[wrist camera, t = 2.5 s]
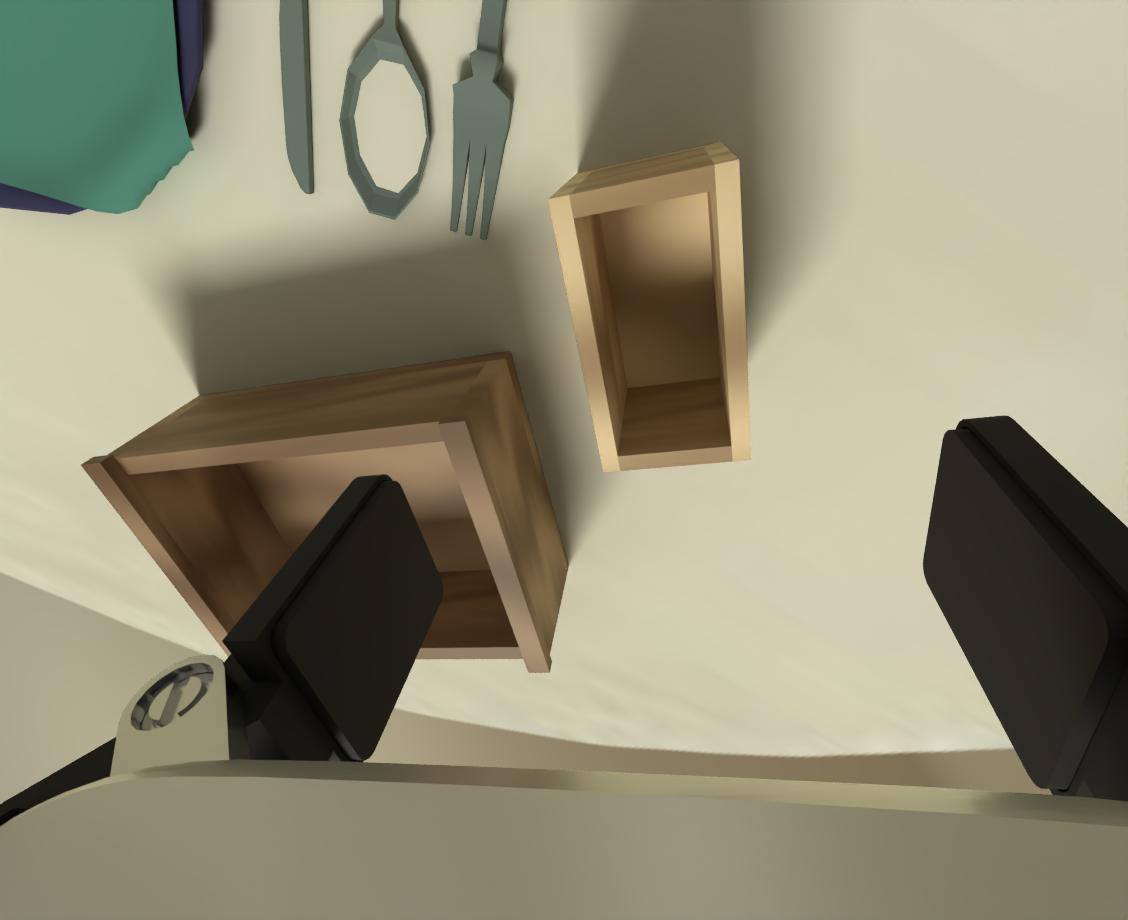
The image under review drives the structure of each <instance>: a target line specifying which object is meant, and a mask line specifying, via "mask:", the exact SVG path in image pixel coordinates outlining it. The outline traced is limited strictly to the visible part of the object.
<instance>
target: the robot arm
mask: <svg viewBox="0 0 1128 920" xmlns="http://www.w3.org/2000/svg"><path fill="white" fill-rule="evenodd" d="M923 570H924V575H925V579H926V581H927V584H928V586H929V588H930V590H931V592H932V593H933V595H934V597H935V599H936V601H937V603H938V605H939V607H940V609H941V610H942V612H943V614H944V616H945V618H946V620H947V622H948V624H949V626H950V628H951V629H952V631H953V633H954V635H955V637H956V639H957V641H958V643H959V645H960V646H961V648H962V650H963V652H964V654H965V656H966V658H967V660H968V662H969V664H970V665H971V667H972V669H973V671H974V673H975V675H976V677H977V679H978V681H979V682H980V684H981V686H982V688H983V690H984V692H985V694H986V696H987V698H988V700H989V701H990V703H991V705H992V707H993V709H994V711H995V713H996V715H997V717H998V718H999V720H1000V722H1001V724H1002V726H1003V728H1004V730H1005V732H1006V734H1007V736H1008V737H1009V739H1010V741H1011V743H1012V745H1013V747H1014V749H1015V751H1016V752H1017V754H1018V756H1019V758H1020V760H1021V762H1022V764H1023V766H1024V768H1025V769H1026V772H1027V773H1028V775H1029V776H1030V778H1031V780H1032V781H1033V782H1034V783H1035V784H1036V786H1038V787H1040V788H1042V789H1050V791H1051V793H1052V794H1053V795H1042V794H1027V793H1011V792H995V791H979V790H964V789H948V788H932V787H915V786H894V785H893V786H892V785H874V784H853V783H832V782H811V781H810V782H809V781H790V780H770V779H769V780H768V779H749V778H727V777H707V776H685V775H661V774H639V773H616V772H592V771H569V770H568V771H567V770H546V769H522V768H521V769H520V768H497V767H471V766H446V765H417V764H390V763H365V762H363V761H364V760H366V759H368V758H370V756H371V755H372V754H373V752H374V750H375V749H376V746H377V744H378V742H379V740H380V737H381V735H382V733H383V731H384V729H385V726H386V724H387V722H388V719H389V717H390V715H391V713H392V711H393V708H394V706H395V704H396V702H397V699H398V697H399V695H400V693H401V690H402V688H403V686H404V684H405V682H406V679H407V677H408V675H409V673H410V670H411V668H412V666H413V664H414V661H415V659H416V657H417V655H418V652H419V650H420V648H421V646H422V643H423V641H424V639H425V637H426V635H427V632H428V630H429V628H430V626H431V623H432V621H433V619H434V617H435V614H436V612H437V610H438V608H439V605H440V603H441V601H442V598H443V582H442V579H441V577H440V575H439V572H438V570H437V568H436V565H435V563H434V561H433V558H432V556H431V554H430V551H429V549H428V547H427V544H426V542H425V540H424V538H423V535H422V533H421V531H420V528H419V526H418V524H417V521H416V519H415V517H414V514H413V512H412V510H411V507H410V505H409V503H408V500H407V498H406V496H405V493H404V491H403V489H402V487H401V485H400V484H399V483H398V482H397V481H393V480H392V478H391V477H389V476H388V475H386V474H381V475H370V476H360V477H356V478H355V479H354V480H353V481H352V482H351V483H350V485H349V486H348V487H347V488H346V489H345V491H344V492H343V493H342V494H341V496H340V497H339V498H338V499H337V500H336V502H335V503H334V504H333V505H332V507H331V508H330V509H329V510H328V512H327V513H326V514H325V515H324V516H323V518H322V519H321V520H320V521H319V523H318V524H317V525H316V526H315V527H314V529H313V530H312V531H311V532H310V534H309V535H308V536H307V537H306V539H305V540H304V541H303V542H302V543H301V545H300V546H299V547H298V548H297V550H296V551H295V552H294V553H293V554H292V556H291V557H290V558H289V559H288V561H287V562H286V563H285V564H284V566H283V567H282V568H281V569H280V570H279V572H278V573H277V574H276V575H275V577H274V578H273V579H272V580H271V581H270V583H269V584H268V585H267V586H266V588H265V589H264V590H263V591H262V593H261V594H260V595H259V596H258V597H257V599H256V600H255V601H254V602H253V604H252V605H251V606H250V607H249V608H248V610H247V611H246V612H245V613H244V615H243V616H242V617H241V618H240V620H239V621H238V622H237V623H236V624H235V626H234V627H233V628H232V629H231V631H230V632H229V633H228V634H227V635H226V637H225V638H224V639H223V640H222V642H223V643H224V645H225V646H226V647H227V649H228V650H229V651H230V653H231V654H230V656H229V657H228V658H227V660H226V661H225V662H223V661H222V660H221V659H219V658H218V657H216V656H215V655H199V656H195V657H190V658H187V659H185V660H183V661H180V662H178V663H175V664H174V665H172V666H170V667H169V668H167V669H165V670H163V671H162V672H160V673H159V674H157V675H156V676H155V677H154V678H152V679H151V680H150V681H149V682H147V683H146V684H145V685H144V686H143V687H142V688H141V689H140V690H139V691H138V692H137V693H136V694H135V695H134V696H133V697H132V699H131V700H130V701H129V703H128V704H127V706H126V707H125V709H124V711H123V713H122V715H121V718H120V721H119V725H118V730H117V736H116V737H115V738H114V739H112V740H110V741H108V742H107V743H105V744H103V745H101V746H100V747H98V748H96V749H95V750H93V751H91V752H90V753H88V754H86V755H84V756H82V757H81V758H79V759H77V760H76V761H74V762H72V763H70V764H69V765H67V766H65V767H64V768H62V769H60V770H58V771H57V772H55V773H53V774H51V775H50V776H48V777H46V778H45V779H43V780H41V781H39V782H38V783H36V784H34V785H33V786H31V787H29V788H27V789H25V790H24V791H22V792H20V793H19V794H17V795H15V796H14V797H12V798H10V799H8V800H6V801H5V802H3V803H2V804H0V920H1128V527H1127V526H1126V525H1124V524H1123V523H1122V522H1121V521H1120V520H1119V519H1118V518H1117V517H1116V516H1115V515H1114V514H1113V513H1112V512H1111V511H1110V510H1109V509H1108V508H1106V507H1105V506H1104V505H1103V504H1102V503H1101V502H1100V501H1099V500H1098V499H1097V498H1096V497H1095V496H1094V495H1093V494H1092V493H1091V492H1090V491H1089V490H1087V489H1086V488H1085V487H1084V486H1083V485H1082V484H1081V483H1080V482H1079V481H1078V480H1077V479H1076V478H1075V477H1074V476H1073V475H1072V474H1071V473H1069V472H1068V471H1067V470H1066V469H1065V468H1064V467H1063V466H1062V465H1061V464H1060V463H1059V462H1058V461H1057V460H1056V459H1055V458H1054V457H1053V456H1052V455H1050V454H1049V453H1048V452H1047V451H1046V450H1045V449H1044V448H1043V447H1042V446H1041V445H1040V444H1039V443H1038V442H1037V441H1036V440H1035V439H1034V438H1032V437H1031V436H1030V435H1029V434H1028V433H1027V432H1026V431H1025V430H1024V429H1023V428H1022V427H1021V426H1020V425H1019V424H1018V423H1017V422H1016V421H1015V420H1013V419H1012V418H1011V417H1009V416H995V417H984V418H974V419H963V420H962V421H960V422H959V423H958V425H957V427H956V430H948V431H947V432H946V433H945V435H944V437H943V442H942V448H941V454H940V460H939V466H938V473H937V479H936V485H935V491H934V497H933V503H932V509H931V516H930V522H929V528H928V534H927V540H926V546H925V552H924V559H923Z"/></svg>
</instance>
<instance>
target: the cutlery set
mask: <svg viewBox="0 0 1128 920" xmlns="http://www.w3.org/2000/svg"><path fill="white" fill-rule="evenodd" d="M506 2H507V0H483V2H482V10H481V19H480V28H479V36H478V45H477V50H475V51H473V52H471V53H470V59H471V66H472V72H473V76H472V77H470V78H468V79H465V80H463V81H460V82H458V83H456V84H453V92H454V106H453V126H454V140H453V193H452V214H451V228H450V231H454V232H456V231H457V228H458V222H459V216H460V210H461V204H462V198H463V192H464V186H465V179H466V173H467V167H468V161H469V186H468V206H467V220H466V232H465V235H469V236H471V235H472V231H473V226H474V220H475V214H476V209H477V203H478V198H479V192H480V187H481V181H482V176H483V170H484V165H485V182H484V200H483V215H482V225H481V236H480V239H483V240H486V239H487V234H488V229H489V224H490V219H491V214H492V209H493V204H494V199H495V194H496V188H497V183H498V178H499V173H500V168H501V163H502V158H503V153H504V148H505V143H506V140H507V136H508V132H509V128H510V122H511V115H512V108H513V101H514V99H513V98H512V97H511V96H510V95H509V94H508V93H507V92H506V91H505V90H504V88H503V87H502V86H501V85H500V84H499V83H498V82H497V80H498V77H499V74H500V71H501V68H502V65H503V59H502V58H501V57H500V55H499V53H500V46H501V38H502V31H503V24H504V16H505V9H506ZM398 9H399V0H383V17H384V25H383V26H382V27H381V28H380V29H379V30H377V31H376V32H375V33H374V34H373V35H372V36H371V38H370V39H369V40H368V42H367V43H366V44H365V46H364V47H363V48H362V50H361V51H360V53H359V54H358V55H357V57H356V58H355V59H354V61H353V62H352V63H351V65H350V66H349V68H348V70H347V76H346V82H345V89H344V95H343V101H342V107H341V114H340V120H339V121H340V127H341V133H342V139H343V145H344V151H345V157H346V163H347V169H348V175H349V176H350V178H351V180H352V182H353V184H354V185H355V187H356V189H357V191H358V193H359V195H360V196H361V198H362V200H363V202H364V204H365V206H366V207H367V209H368V211H369V213H372V214H376V215H380V216H384V217H387V218H391V219H396V218H397V217H398V216H399V215H400V213H401V212H402V211H403V210H404V209H405V207H406V206H407V205H408V204H409V203H410V202H411V200H412V199H413V198H414V197H415V196H416V195H417V193H418V191H419V187H420V183H421V178H422V174H423V170H424V166H425V162H426V158H427V154H428V150H429V146H430V135H429V126H428V117H427V108H426V99H425V90H424V88H423V85H422V83H421V81H420V79H419V77H418V75H417V73H416V71H415V69H414V67H413V65H412V63H411V61H410V59H409V57H408V54H407V52H406V50H405V48H404V46H403V44H402V41H401V38H400V35H399V32H398ZM279 21H280V52H281V73H282V91H283V106H284V120H285V134H286V146H287V153H288V159H289V162H290V165H291V168H292V171H293V173H294V175H295V177H296V179H297V181H298V183H299V186H300V188H301V189H302V190H303V191H304V192H305V193H306V194H312V193H314V182H313V154H312V126H311V98H310V70H309V42H308V14H307V0H280V12H279ZM380 59H382V60H386V61H390V62H395V63H399V64H403V65H404V66H405V68H406V69H407V71H408V73H409V74H410V76H411V78H412V80H413V82H414V83H415V85H416V87H417V89H418V91H419V93H420V94H421V96H422V103H423V110H424V118H425V127H426V135H427V138H426V141H425V145H424V149H423V153H422V157H421V161H420V165H419V169H418V173H417V174H416V175H415V176H414V177H413V178H412V179H411V180H410V181H409V182H408V183H407V185H406V186H405V187H404V188H403V189H402V190H401V191H400V192H399V193H395V192H392V191H389V190H386V189H383V188H380V187H377V186H376V185H375V183H374V181H373V179H372V177H371V175H370V173H369V172H368V170H367V168H366V166H365V164H364V162H363V160H362V158H361V156H360V153H359V147H358V140H357V134H356V127H355V120H354V114H355V110H356V105H357V100H358V95H359V90H360V86H361V81H362V80H363V79H364V78H365V77H366V76H367V75H368V73H369V72H370V71H371V70H372V69H373V67H374V66H375V65H376V64H377V63H378V61H379V60H380ZM202 69H203V0H0V207H1V208H10V209H20V210H29V211H39V212H49V213H58V214H68V215H70V214H73V213H76V212H79V211H83V210H86V209H91V210H95V211H99V212H107V213H116V214H119V213H123V212H126V211H130V210H133V209H137V208H138V207H139V206H140V204H141V203H142V201H143V200H144V198H145V197H146V195H148V194H150V193H151V192H152V190H153V189H154V187H155V186H156V184H157V183H158V181H160V180H163V179H164V178H165V177H166V175H167V174H168V172H169V171H170V170H171V168H172V167H173V166H175V165H178V164H179V163H180V162H181V161H182V160H183V158H184V157H185V156H186V155H187V153H188V152H189V151H192V150H194V149H193V146H192V143H191V141H190V138H189V135H188V131H187V127H186V123H185V121H186V118H187V115H188V112H189V109H190V105H191V102H192V99H193V96H194V93H195V90H196V87H197V84H198V81H199V78H200V75H201V72H202ZM485 159H486V161H485Z"/></svg>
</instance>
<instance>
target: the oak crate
mask: <svg viewBox="0 0 1128 920" xmlns="http://www.w3.org/2000/svg"><path fill="white" fill-rule="evenodd" d="M548 203H549V208H550V213H551V218H552V223H553V228H554V233H555V238H556V243H557V247H558V252H559V257H560V262H561V267H562V272H563V277H564V282H565V287H566V292H567V297H568V301H569V306H570V311H571V316H572V321H573V326H574V331H575V336H576V341H577V346H578V350H579V355H580V360H581V365H582V370H583V375H584V380H585V385H586V390H587V395H588V400H589V404H590V409H591V414H592V419H593V424H594V429H595V434H596V439H597V444H598V449H599V454H600V458H601V463H602V468H603V472H613V471H624V470H636V469H648V468H660V467H672V466H684V465H695V464H707V463H719V462H731V461H743V460H751V440H750V415H749V390H748V365H747V341H746V316H745V291H744V266H743V242H742V217H741V192H740V167H739V159H738V158H737V157H736V156H735V155H734V154H733V153H732V152H731V151H730V150H729V149H728V148H727V147H726V146H725V145H724V144H723V143H722V142H719V143H714V144H710V145H705V146H700V147H696V148H691V149H687V150H682V151H677V152H673V153H668V154H664V155H659V156H654V157H650V158H645V159H641V160H636V161H631V162H627V163H622V164H618V165H613V166H609V167H604V168H599V169H595V170H590V171H586V172H581V173H577V174H576V175H575V176H574V177H573V178H571V179H570V180H569V181H568V182H567V183H566V184H565V185H564V186H562V187H561V188H560V189H559V190H558V191H557V192H556V193H554V194H553V195H552V196H551V197H550V198H549V199H548Z"/></svg>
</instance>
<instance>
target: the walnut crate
mask: <svg viewBox="0 0 1128 920" xmlns="http://www.w3.org/2000/svg"><path fill="white" fill-rule="evenodd" d="M81 466H82V467H83V468H84V470H85V471H86V472H87V474H88V475H89V476H90V478H91V479H92V480H93V481H94V483H95V484H96V485H97V487H98V488H99V489H100V491H101V492H102V493H103V494H104V496H105V497H106V498H107V500H108V501H109V502H110V503H111V505H112V506H113V507H114V509H115V510H116V511H117V513H118V514H119V515H120V516H121V518H122V519H123V520H124V522H125V523H126V524H127V526H128V527H129V528H130V529H131V531H132V532H133V533H134V535H135V536H136V537H137V538H138V540H139V541H140V542H141V544H142V545H143V546H144V548H145V549H146V550H147V551H148V553H149V554H150V555H151V557H152V558H153V559H154V561H155V562H156V563H157V564H158V566H159V567H160V568H161V570H162V571H163V572H164V574H165V575H166V576H167V577H168V579H169V580H170V581H171V583H172V584H173V585H174V586H175V588H176V589H177V590H178V592H179V593H180V594H181V596H182V597H183V598H184V599H185V601H186V602H187V603H188V605H189V606H190V607H191V609H192V610H193V611H194V612H195V614H196V615H197V616H198V618H199V619H200V620H201V622H202V623H203V624H204V625H205V627H206V628H207V629H208V631H209V632H210V633H211V634H212V636H213V637H214V638H215V640H216V641H217V642H218V644H219V645H220V646H221V647H222V649H223V650H224V651H225V653H226V654H227V655H228V657H229V656H230V654H231V653H230V651H229V650H228V649H227V647H226V646H225V645H224V643H223V642H222V640H223V639H224V638H225V637H226V635H227V634H228V633H229V632H230V631H231V629H232V628H233V627H234V626H235V624H236V623H237V622H238V621H239V620H240V618H241V617H242V616H243V615H244V613H245V612H246V611H247V610H248V608H249V607H250V606H251V605H252V604H253V602H254V601H255V600H256V599H257V597H258V596H259V595H260V594H261V593H262V591H263V590H264V589H265V588H266V586H267V585H268V584H269V583H270V581H271V580H272V579H273V578H274V577H275V575H276V574H277V573H278V572H279V570H280V569H281V568H282V567H283V566H284V564H285V563H286V562H287V561H288V559H289V558H290V557H291V556H292V554H293V553H294V552H295V551H296V550H297V548H298V547H299V546H300V545H301V543H302V542H303V541H304V540H305V539H306V537H307V536H308V535H309V534H310V532H311V531H312V530H313V529H314V527H315V526H316V525H317V524H318V523H319V521H320V520H321V519H322V518H323V516H324V515H325V514H326V513H327V512H328V510H329V509H330V508H331V507H332V505H333V504H334V503H335V502H336V500H337V499H338V498H339V497H340V496H341V494H342V493H343V492H344V491H345V489H346V488H347V487H348V486H349V485H350V483H351V482H352V481H353V480H354V479H355V478H356V477H360V476H370V475H381V474H386V475H388V476H389V477H391V478H392V480H393V481H397V482H398V483H399V484H400V485H401V487H402V489H403V491H404V493H405V496H406V498H407V500H408V503H409V505H410V507H411V510H412V512H413V514H414V517H415V519H416V521H417V524H418V526H419V528H420V531H421V533H422V535H423V538H424V540H425V542H426V544H427V547H428V549H429V551H430V554H431V556H432V558H433V561H434V563H435V565H436V568H437V570H438V572H439V575H440V577H441V579H442V582H443V598H442V601H441V603H440V605H439V608H438V610H437V612H436V614H435V617H434V619H433V621H432V623H431V626H430V628H429V630H428V632H427V635H426V637H425V639H424V641H423V643H422V646H421V648H420V650H419V652H418V655H417V657H416V659H524V662H525V664H526V667H527V670H528V673H550V668H551V663H552V660H551V657H550V651H551V646H552V642H553V637H554V632H555V627H556V623H557V618H558V613H559V609H560V604H561V599H562V595H563V590H564V585H565V581H566V576H567V571H568V564H567V560H566V556H565V553H564V549H563V545H562V542H561V538H560V534H559V531H558V527H557V523H556V519H555V516H554V512H553V508H552V505H551V501H550V497H549V493H548V490H547V486H546V482H545V479H544V475H543V471H542V468H541V464H540V460H539V456H538V453H537V449H536V445H535V442H534V438H533V434H532V431H531V427H530V423H529V419H528V416H527V412H526V408H525V405H524V401H523V397H522V393H521V390H520V386H519V382H518V379H517V375H516V371H515V368H514V364H513V360H512V356H511V353H510V351H509V352H502V353H495V354H489V355H482V356H475V357H468V358H461V359H454V360H447V361H440V362H433V363H426V364H419V365H412V366H405V367H398V368H391V369H384V370H377V371H370V372H363V373H356V374H349V375H342V376H335V377H328V378H321V379H314V380H307V381H300V382H294V383H287V384H280V385H273V386H266V387H259V388H252V389H245V390H238V391H231V392H224V393H217V394H210V395H203V396H198V397H196V398H195V399H193V400H192V401H190V402H189V403H187V404H186V405H184V406H182V407H181V408H179V409H178V410H176V411H175V412H173V413H172V414H170V415H169V416H167V417H165V418H164V419H162V420H161V421H159V422H158V423H156V424H155V425H153V426H152V427H150V428H148V429H147V430H145V431H144V432H142V433H141V434H139V435H138V436H136V437H134V438H133V439H131V440H130V441H128V442H127V443H125V444H124V445H122V446H121V447H119V448H117V449H116V450H114V451H113V452H111V453H110V454H108V455H107V456H98V457H93V458H91V459H90V460H88V461H86V462H85V463H83V464H82V465H81Z"/></svg>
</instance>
